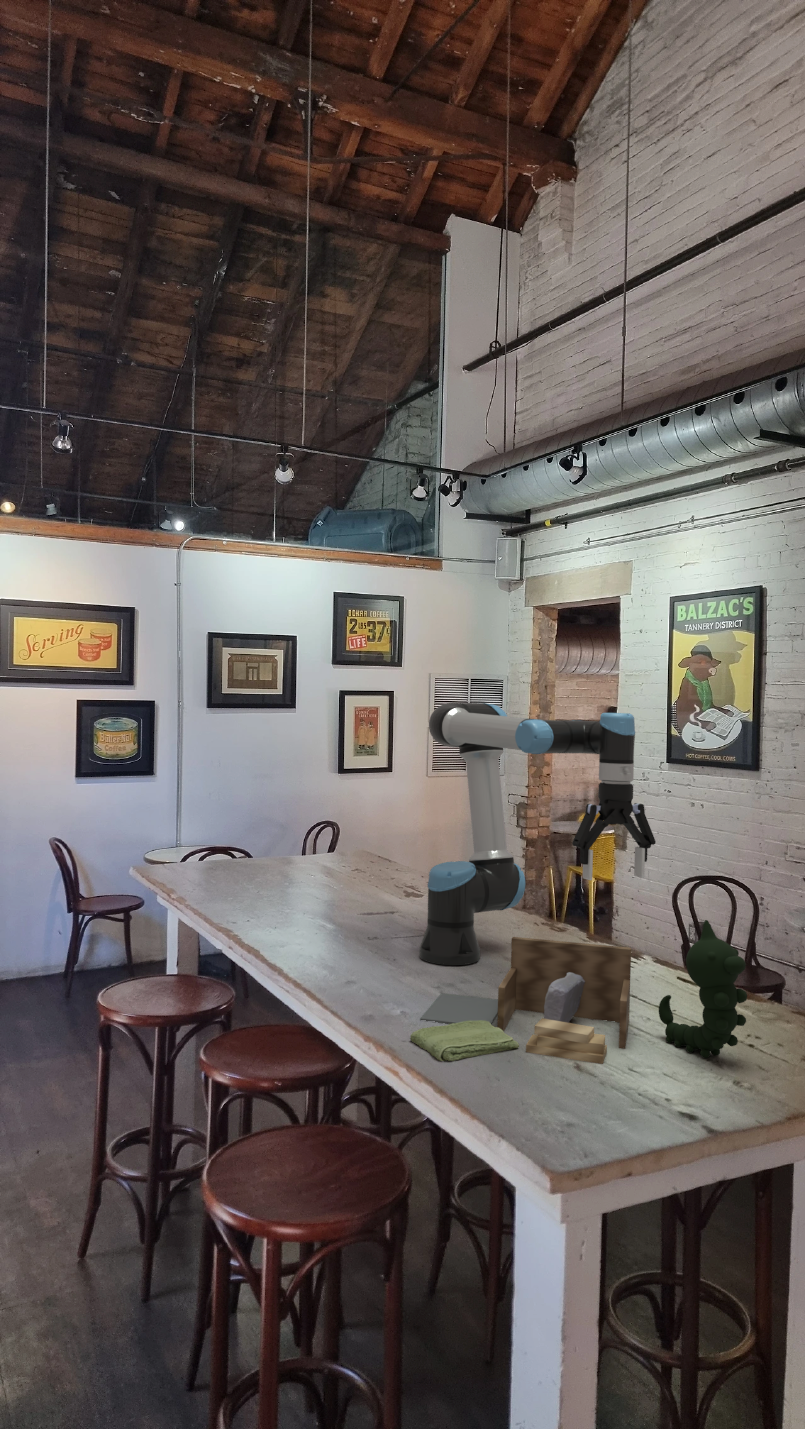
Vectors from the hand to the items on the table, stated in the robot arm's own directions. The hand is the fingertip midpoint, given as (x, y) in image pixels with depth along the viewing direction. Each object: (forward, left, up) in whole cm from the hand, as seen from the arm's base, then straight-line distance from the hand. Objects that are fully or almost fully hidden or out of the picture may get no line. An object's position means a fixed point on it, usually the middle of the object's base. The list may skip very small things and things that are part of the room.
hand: (613, 878), depth 207 cm
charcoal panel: (-28, -22, -26) cm, 45 cm away
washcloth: (-24, -40, -27) cm, 54 cm away
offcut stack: (-6, -37, -27) cm, 46 cm away
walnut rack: (-7, -25, -26) cm, 37 cm away
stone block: (-7, -24, -27) cm, 37 cm away
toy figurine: (+18, -28, -27) cm, 43 cm away
